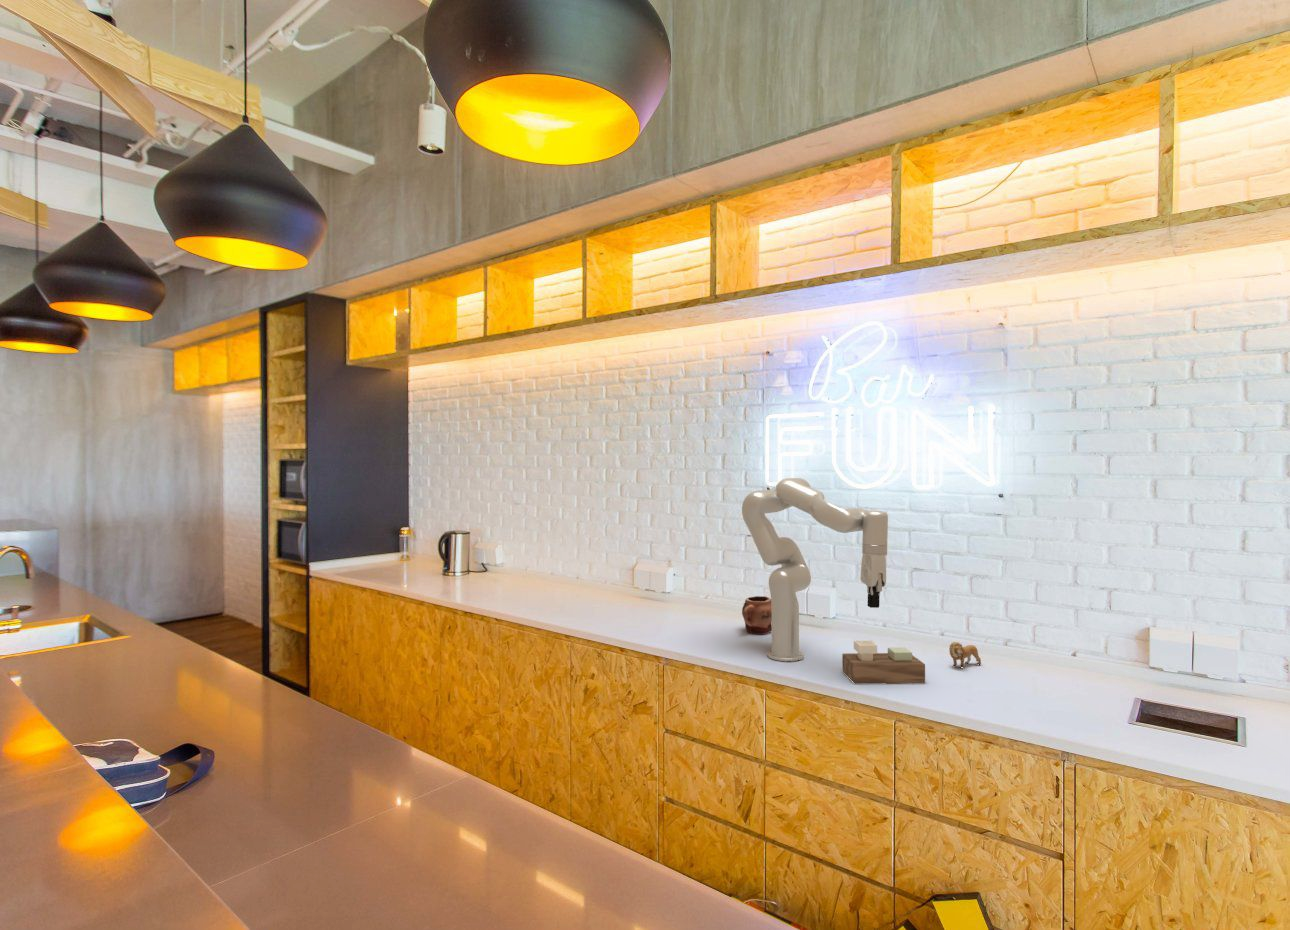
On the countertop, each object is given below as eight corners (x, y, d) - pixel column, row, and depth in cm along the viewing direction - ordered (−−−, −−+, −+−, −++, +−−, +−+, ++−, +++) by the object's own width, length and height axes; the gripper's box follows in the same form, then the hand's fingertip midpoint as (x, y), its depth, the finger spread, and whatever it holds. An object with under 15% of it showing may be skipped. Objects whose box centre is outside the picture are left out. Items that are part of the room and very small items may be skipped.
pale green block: (887, 669, 214) (887, 647, 214) (905, 669, 214) (905, 647, 214) (894, 674, 208) (894, 652, 208) (912, 674, 209) (912, 652, 208)
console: (842, 671, 217) (842, 653, 217) (909, 671, 217) (909, 653, 217) (854, 684, 205) (854, 664, 205) (925, 683, 205) (925, 664, 205)
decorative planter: (760, 640, 255) (760, 604, 255) (732, 635, 262) (732, 600, 262) (781, 629, 272) (781, 595, 272) (754, 625, 279) (754, 592, 279)
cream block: (853, 662, 214) (853, 640, 214) (871, 662, 214) (871, 640, 214) (859, 667, 208) (859, 645, 208) (877, 667, 208) (877, 645, 208)
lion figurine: (960, 672, 216) (960, 644, 216) (945, 668, 221) (945, 641, 221) (984, 664, 224) (984, 637, 224) (969, 660, 229) (969, 634, 229)
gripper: (854, 546, 218) (853, 601, 219) (871, 553, 203) (870, 612, 204) (877, 546, 219) (875, 601, 219) (896, 553, 204) (894, 612, 204)
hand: (873, 606), depth 211 cm, fingers closed
